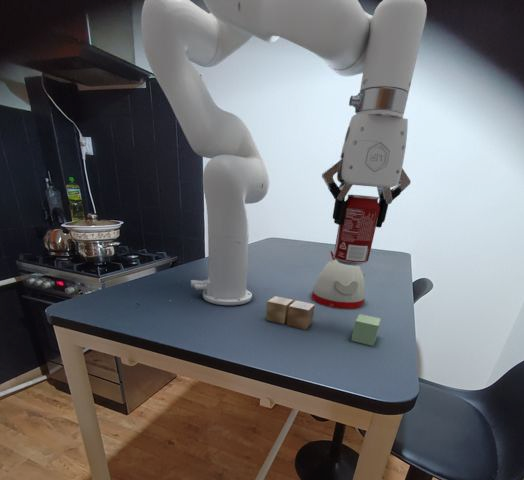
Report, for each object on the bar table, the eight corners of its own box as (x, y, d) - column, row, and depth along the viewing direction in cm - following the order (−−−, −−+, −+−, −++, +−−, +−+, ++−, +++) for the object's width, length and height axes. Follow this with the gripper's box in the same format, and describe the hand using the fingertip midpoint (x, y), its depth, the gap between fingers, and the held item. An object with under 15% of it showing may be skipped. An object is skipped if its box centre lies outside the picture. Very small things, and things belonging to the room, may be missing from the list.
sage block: (350, 340, 64) (355, 320, 62) (355, 333, 68) (359, 313, 65) (373, 346, 62) (378, 325, 60) (376, 338, 66) (381, 318, 64)
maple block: (265, 319, 71) (267, 301, 69) (273, 313, 74) (275, 295, 72) (284, 324, 69) (286, 305, 67) (291, 318, 73) (293, 299, 71)
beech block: (286, 325, 69) (288, 305, 67) (293, 318, 72) (295, 300, 70) (305, 329, 67) (308, 310, 65) (312, 322, 71) (314, 304, 69)
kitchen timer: (369, 310, 81) (383, 249, 74) (315, 306, 81) (325, 245, 74) (356, 293, 93) (367, 240, 86) (309, 290, 93) (317, 236, 86)
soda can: (368, 268, 60) (385, 198, 54) (332, 264, 60) (344, 194, 55) (365, 261, 65) (379, 196, 60) (332, 257, 66) (343, 193, 61)
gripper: (335, 97, 47) (317, 224, 55) (444, 109, 49) (410, 231, 57) (322, 106, 54) (307, 219, 62) (418, 117, 55) (391, 225, 64)
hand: (357, 224), depth 60 cm, fingers closed on soda can, 6 cm apart
